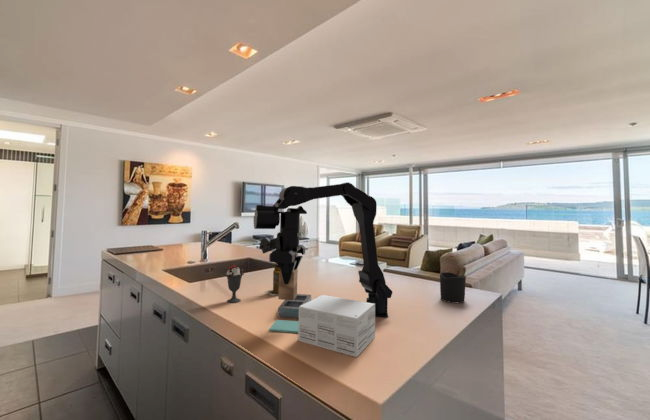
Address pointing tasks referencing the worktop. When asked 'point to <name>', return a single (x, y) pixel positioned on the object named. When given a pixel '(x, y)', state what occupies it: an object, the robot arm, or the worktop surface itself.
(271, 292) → the condiment
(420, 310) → the worktop surface
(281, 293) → the peg
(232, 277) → the sundae
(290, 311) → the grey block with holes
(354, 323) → the supplement box
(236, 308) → the worktop surface
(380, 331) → the worktop surface
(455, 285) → the pen holder
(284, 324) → the mat
